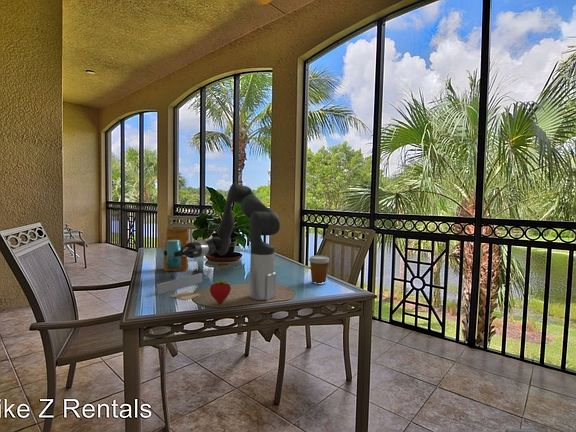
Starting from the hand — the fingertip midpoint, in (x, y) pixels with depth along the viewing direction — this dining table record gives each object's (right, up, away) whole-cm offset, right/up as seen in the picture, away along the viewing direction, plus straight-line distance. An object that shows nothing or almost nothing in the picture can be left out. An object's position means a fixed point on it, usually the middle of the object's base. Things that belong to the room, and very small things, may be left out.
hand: (169, 253), depth 144 cm
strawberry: (+28, -15, -26) cm, 41 cm away
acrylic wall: (+7, -13, -7) cm, 17 cm away
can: (+1, -6, +2) cm, 7 cm away
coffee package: (-6, -12, +26) cm, 29 cm away
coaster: (+13, -14, -18) cm, 26 cm away
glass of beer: (+67, -14, +7) cm, 69 cm away
